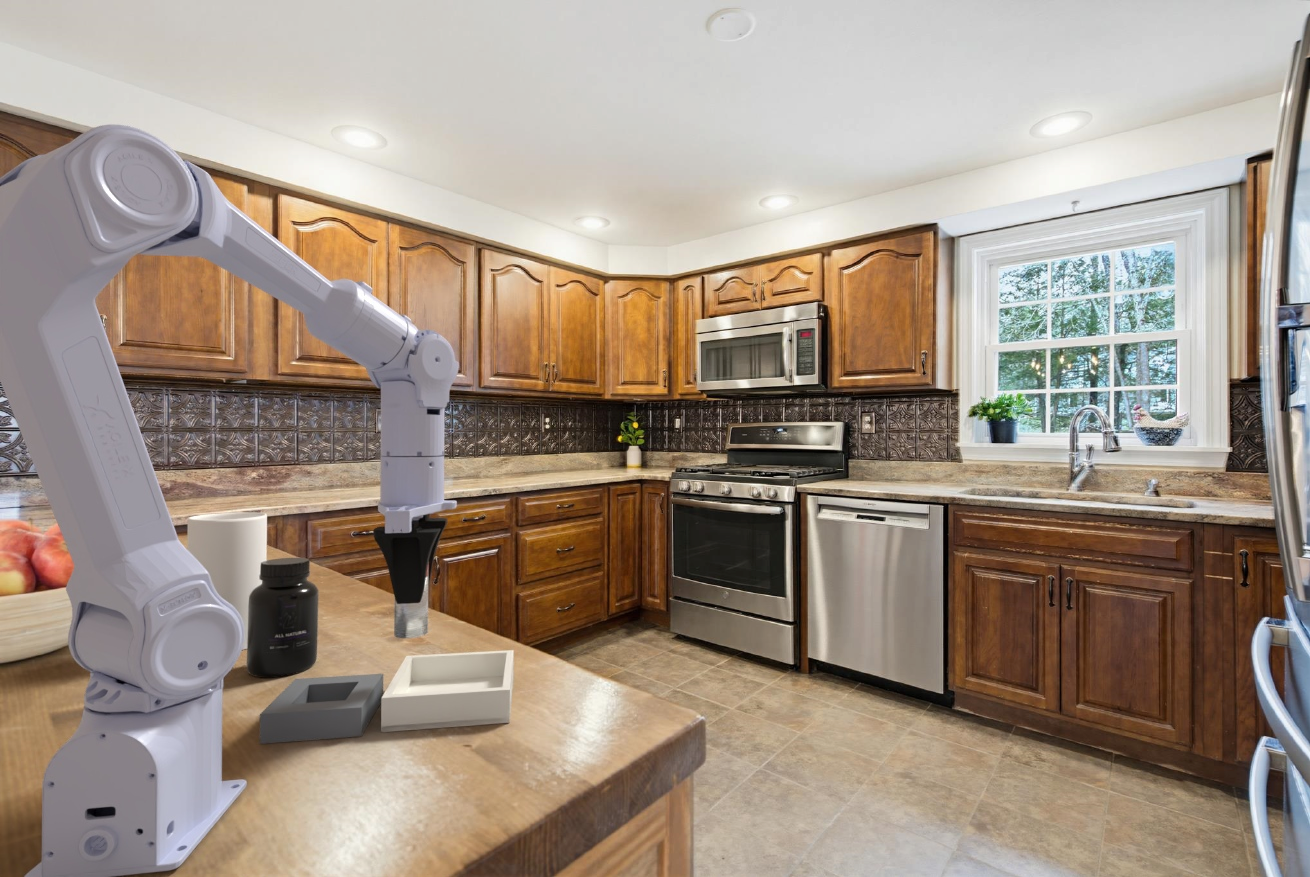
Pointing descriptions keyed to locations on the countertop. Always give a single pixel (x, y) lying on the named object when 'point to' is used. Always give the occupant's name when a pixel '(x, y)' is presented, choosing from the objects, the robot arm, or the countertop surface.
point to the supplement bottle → (282, 619)
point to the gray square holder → (322, 708)
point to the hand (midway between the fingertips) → (412, 597)
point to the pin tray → (449, 691)
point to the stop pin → (412, 616)
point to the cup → (231, 554)
